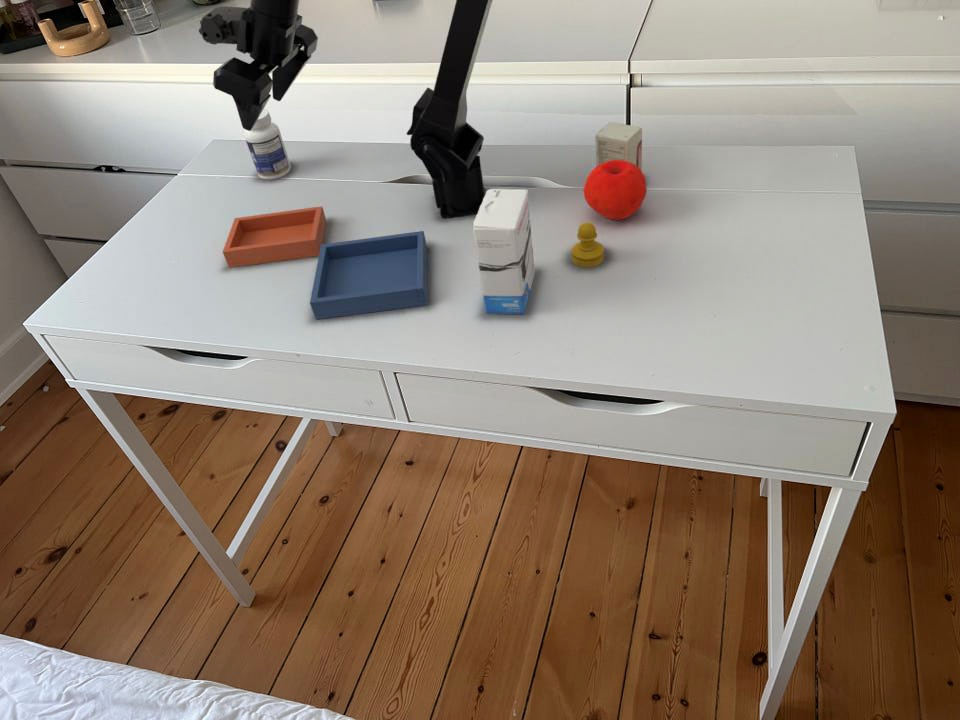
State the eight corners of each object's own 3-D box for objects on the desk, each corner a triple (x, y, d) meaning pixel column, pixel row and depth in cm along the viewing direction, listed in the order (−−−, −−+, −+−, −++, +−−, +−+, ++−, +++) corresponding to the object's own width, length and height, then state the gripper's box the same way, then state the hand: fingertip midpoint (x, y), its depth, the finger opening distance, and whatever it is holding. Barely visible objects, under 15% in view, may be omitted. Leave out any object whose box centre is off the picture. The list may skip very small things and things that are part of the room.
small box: (642, 179, 108) (643, 126, 103) (628, 194, 105) (628, 140, 100) (610, 172, 110) (610, 120, 105) (595, 186, 108) (594, 134, 103)
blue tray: (427, 247, 102) (423, 230, 100) (426, 305, 92) (423, 287, 91) (326, 260, 102) (320, 244, 101) (315, 319, 93) (309, 302, 91)
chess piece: (606, 250, 96) (606, 215, 93) (600, 268, 93) (599, 233, 90) (575, 248, 97) (574, 213, 94) (568, 266, 95) (566, 231, 91)
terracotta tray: (326, 221, 110) (322, 206, 108) (320, 255, 104) (315, 239, 102) (240, 233, 111) (234, 218, 109) (229, 267, 104) (222, 251, 102)
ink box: (525, 315, 89) (516, 228, 81) (483, 314, 90) (470, 228, 82) (536, 272, 95) (528, 186, 87) (497, 271, 96) (485, 187, 88)
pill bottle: (260, 166, 126) (240, 110, 119) (293, 161, 126) (275, 104, 119) (256, 182, 122) (235, 124, 115) (289, 177, 122) (270, 119, 115)
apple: (581, 230, 100) (578, 180, 95) (588, 198, 106) (587, 149, 101) (643, 232, 98) (644, 180, 93) (648, 199, 104) (649, 149, 99)
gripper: (248, -43, 102) (239, 63, 114) (174, 6, 89) (172, 121, 100) (326, -9, 103) (310, 94, 114) (263, 45, 90) (252, 155, 101)
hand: (262, 114), depth 107 cm, fingers open, 9 cm apart
